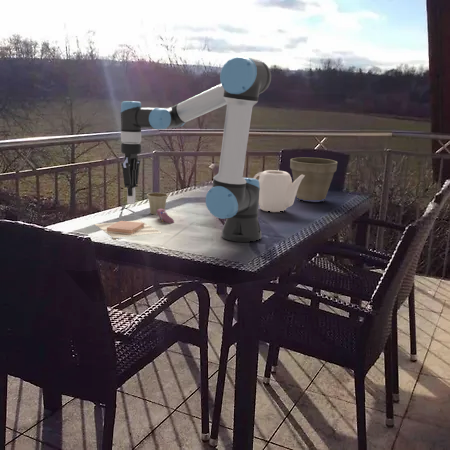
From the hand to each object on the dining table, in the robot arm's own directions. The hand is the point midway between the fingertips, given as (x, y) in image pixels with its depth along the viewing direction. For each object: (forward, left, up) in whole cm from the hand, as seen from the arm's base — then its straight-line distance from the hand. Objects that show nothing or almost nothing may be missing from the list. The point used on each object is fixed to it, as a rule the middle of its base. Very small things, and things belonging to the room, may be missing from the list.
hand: (131, 203), depth 199 cm
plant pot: (+20, -110, -10) cm, 113 cm away
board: (-3, +3, -10) cm, 11 cm away
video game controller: (+4, -16, -10) cm, 20 cm away
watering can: (+5, -75, -10) cm, 76 cm away
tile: (0, -1, -8) cm, 8 cm away
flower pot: (+20, -20, -10) cm, 31 cm away
